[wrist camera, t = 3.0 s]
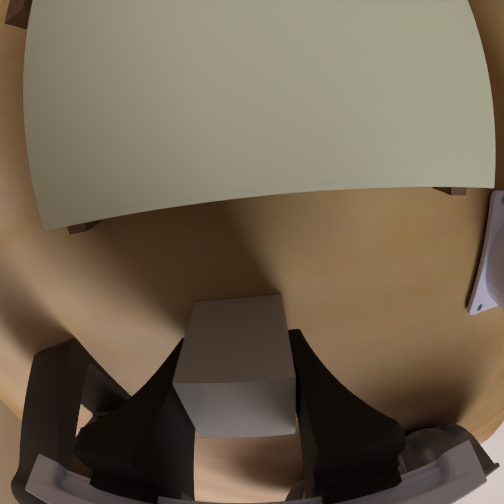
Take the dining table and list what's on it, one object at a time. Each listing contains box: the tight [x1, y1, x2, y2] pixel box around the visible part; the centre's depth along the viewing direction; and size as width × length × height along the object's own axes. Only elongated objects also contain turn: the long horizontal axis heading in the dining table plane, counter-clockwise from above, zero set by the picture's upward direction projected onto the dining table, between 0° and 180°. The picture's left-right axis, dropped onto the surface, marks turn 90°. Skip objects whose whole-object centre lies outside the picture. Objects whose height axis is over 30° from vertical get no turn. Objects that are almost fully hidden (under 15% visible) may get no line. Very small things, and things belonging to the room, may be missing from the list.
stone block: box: [172, 294, 296, 438], centre depth 11 cm, size 4×4×5 cm
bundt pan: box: [285, 424, 500, 501], centre depth 18 cm, size 26×26×10 cm
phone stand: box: [11, 339, 132, 504], centre depth 10 cm, size 9×6×12 cm, turn 25°
